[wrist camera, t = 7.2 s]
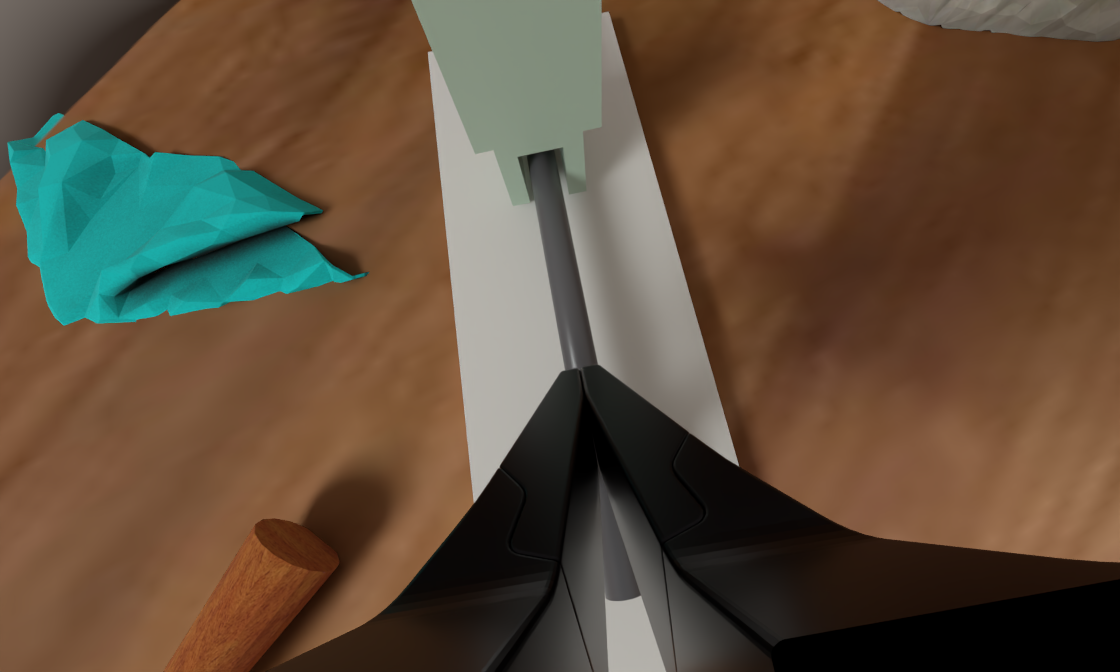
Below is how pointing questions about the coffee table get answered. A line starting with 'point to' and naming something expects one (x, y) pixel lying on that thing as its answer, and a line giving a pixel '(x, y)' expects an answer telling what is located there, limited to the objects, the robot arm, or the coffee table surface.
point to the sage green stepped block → (521, 78)
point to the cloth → (154, 229)
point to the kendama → (256, 598)
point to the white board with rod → (572, 304)
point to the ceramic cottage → (1020, 16)
